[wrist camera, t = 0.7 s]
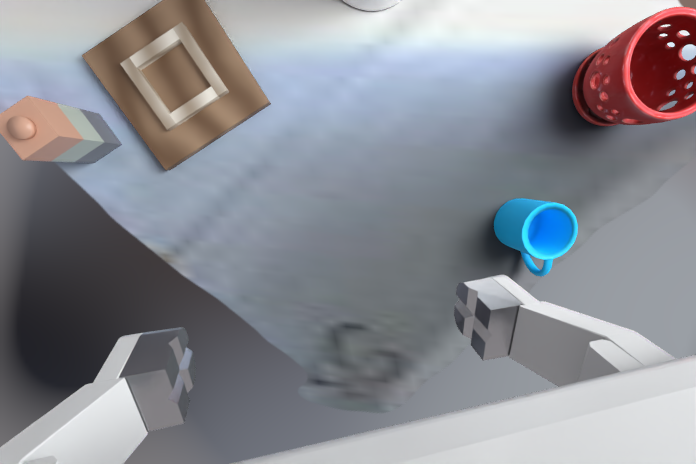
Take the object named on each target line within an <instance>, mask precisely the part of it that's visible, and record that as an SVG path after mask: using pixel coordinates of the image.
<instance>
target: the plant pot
mask: <svg viewBox="0 0 696 464" xmlns="http://www.w3.org/2000/svg"><path fill="white" fill-rule="evenodd" d="M665 24H670V25H671V26H668V27H660V26H662V25H665ZM681 30H686V31H688V32H689V34H690V35H688V36H683V35H681V34H680V33H679V31H681ZM663 33H665V34H667V35H668V36H665V37H662V36H659V35H660V34H663ZM669 42H673V43H674V44H675V47H669V46H668V45H667V43H669ZM687 44H693V45H695V46H696V9H692V8H687V7H674V8H669V9H665V10H663V11H660V12H658V13H656V14H654V15H652V16H650V17H648V18H646V19H644V20H642V21H640V22H638V23H637V24H635V25H633V26H632V27H630V28H628V29H627V30H625V31H624V32H622V33H621V34H620V35H618V36H617V37H615V38H614V39H613V40H611V41H610V42H609V43H608V44H607V45H606V46H605V47H603V48H600V49H598V50H596V51H595V52H593V53H592V54H591V55H589V56H588V57H587V58H586V59H585V60H584V61H583V63H582V64H581V65H580V67H579V69H578V71H577V73H576V75H575V77H574V81H573V87H572V97H573V102H574V105H575V107H576V109H577V111H578V112H579V114H580V115H581V116H582V117H583V118H584V119H586V120H587V121H588V122H590V123H593V124H595V125H599V126H613V125H617V124H625V125H643V124H651V123H660V122H665V121H670V120H674V119H678V118H682V117H684V116H687V115H689V114H691V113H693V112H695V111H696V74H695V73H694V68H695V66H696V56H695V57H694V58H693V59H692V60H689V61H687V60H685V59H683V57H682V54H681V52H682V48H683V47H684V46H685V45H687ZM682 69H684V70H685V71H686V74H685V76H684V77H683V78H682V79H680V80H677V78H676V75H677V73H678V72H679V71H680V70H682ZM690 82H693V85H692V86H691V87H690V88H689V89H686V87H687V85H688V84H689V83H690ZM672 90H676V91H675V93H674V94H673V95H671V96H669V93H670V92H671V91H672ZM691 94H693V96H692V97H690V98H689V99H686V98H687V97H688V96H689V95H691ZM671 101H678V102H677V103H676V104H675V106H673V107H672V108H669V109H666V110H663V111H659V110H660V109H661V108H662V107H663V106H664V105H666V104H667V103H669V102H671Z"/></svg>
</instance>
